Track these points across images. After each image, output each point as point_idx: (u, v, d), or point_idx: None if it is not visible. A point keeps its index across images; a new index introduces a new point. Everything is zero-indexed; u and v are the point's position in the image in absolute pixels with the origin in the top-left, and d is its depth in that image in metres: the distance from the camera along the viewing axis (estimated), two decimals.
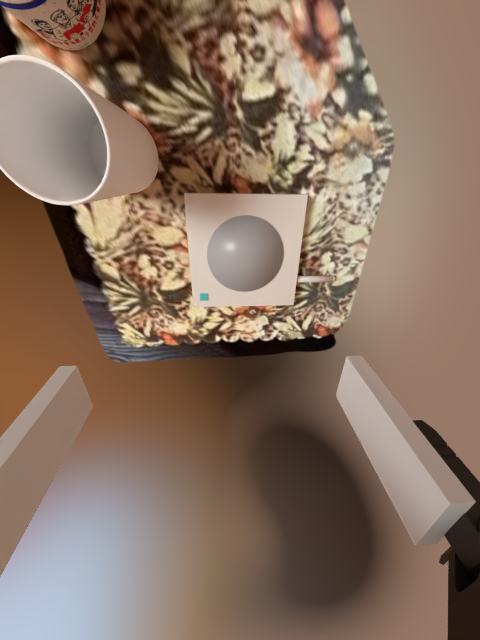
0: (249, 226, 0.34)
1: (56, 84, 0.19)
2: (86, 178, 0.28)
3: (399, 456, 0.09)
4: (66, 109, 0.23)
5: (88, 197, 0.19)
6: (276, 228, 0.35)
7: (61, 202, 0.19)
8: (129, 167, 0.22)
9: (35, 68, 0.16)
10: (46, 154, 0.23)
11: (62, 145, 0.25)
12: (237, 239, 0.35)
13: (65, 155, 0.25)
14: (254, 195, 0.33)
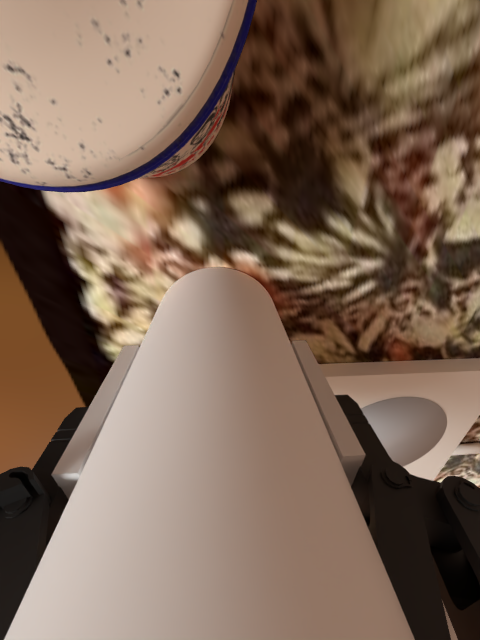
0: (404, 409, 0.21)
1: None
2: None
3: None
4: None
5: None
6: (444, 408, 0.22)
7: None
8: None
9: None
10: None
11: None
12: (380, 424, 0.22)
13: None
14: (426, 374, 0.20)
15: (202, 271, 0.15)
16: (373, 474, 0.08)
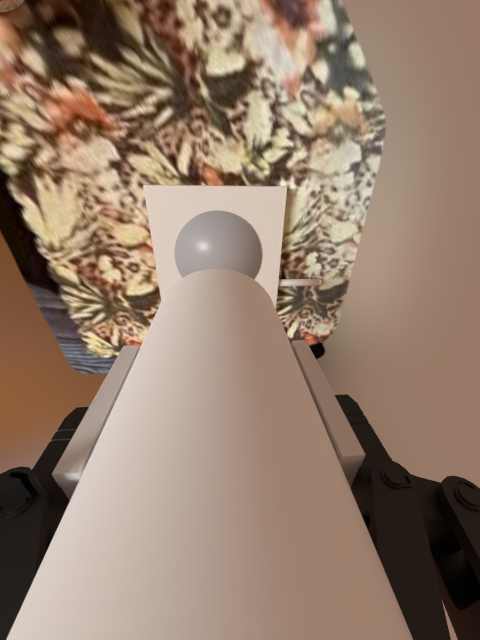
0: (221, 223, 0.30)
1: None
2: None
3: None
4: None
5: None
6: (252, 225, 0.31)
7: None
8: None
9: None
10: None
11: None
12: (208, 238, 0.31)
13: None
14: (225, 187, 0.28)
15: (202, 272, 0.15)
16: (373, 474, 0.08)
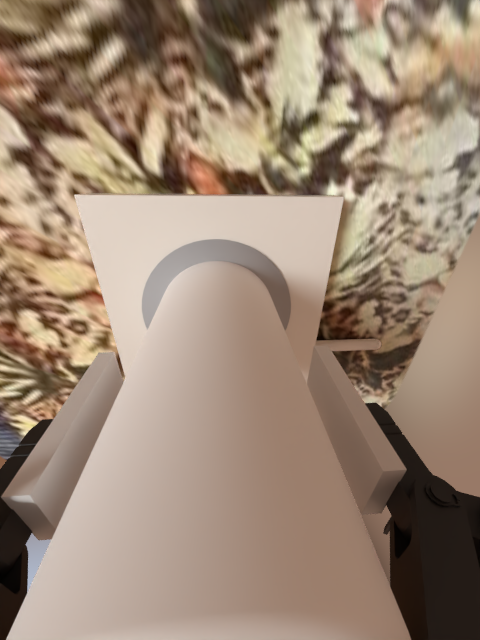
0: None
1: None
2: None
3: (350, 434, 0.10)
4: None
5: None
6: (277, 264, 0.17)
7: None
8: None
9: None
10: None
11: None
12: None
13: None
14: (230, 198, 0.15)
15: (203, 264, 0.16)
16: (416, 488, 0.07)
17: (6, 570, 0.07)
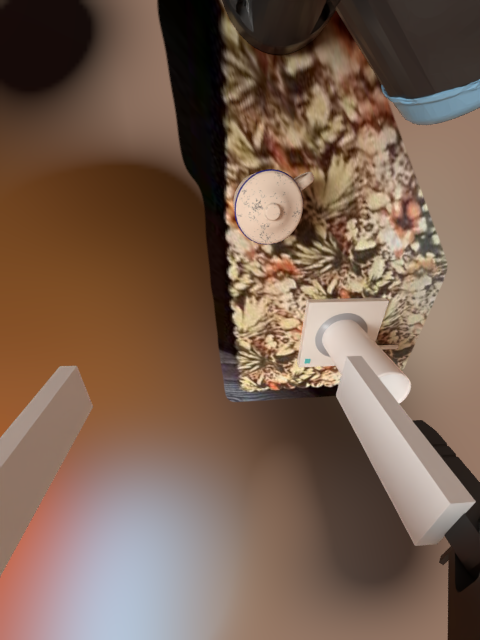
0: (347, 319, 0.51)
1: None
2: None
3: (400, 456, 0.09)
4: None
5: None
6: (365, 320, 0.52)
7: None
8: None
9: None
10: None
11: None
12: None
13: None
14: (354, 302, 0.49)
15: (342, 321, 0.50)
16: None
17: None
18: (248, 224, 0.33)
